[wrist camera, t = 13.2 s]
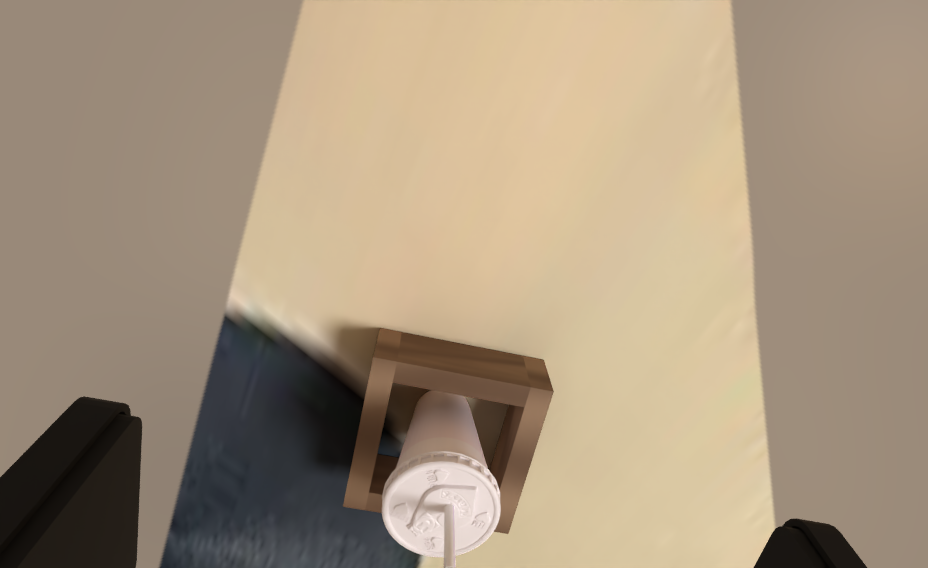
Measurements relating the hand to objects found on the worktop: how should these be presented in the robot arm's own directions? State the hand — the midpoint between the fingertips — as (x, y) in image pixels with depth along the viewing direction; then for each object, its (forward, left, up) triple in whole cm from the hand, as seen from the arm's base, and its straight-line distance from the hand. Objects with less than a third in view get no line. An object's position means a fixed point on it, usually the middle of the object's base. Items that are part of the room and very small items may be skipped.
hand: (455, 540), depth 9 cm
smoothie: (+16, +3, -29) cm, 33 cm away
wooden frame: (+16, +3, -29) cm, 33 cm away
